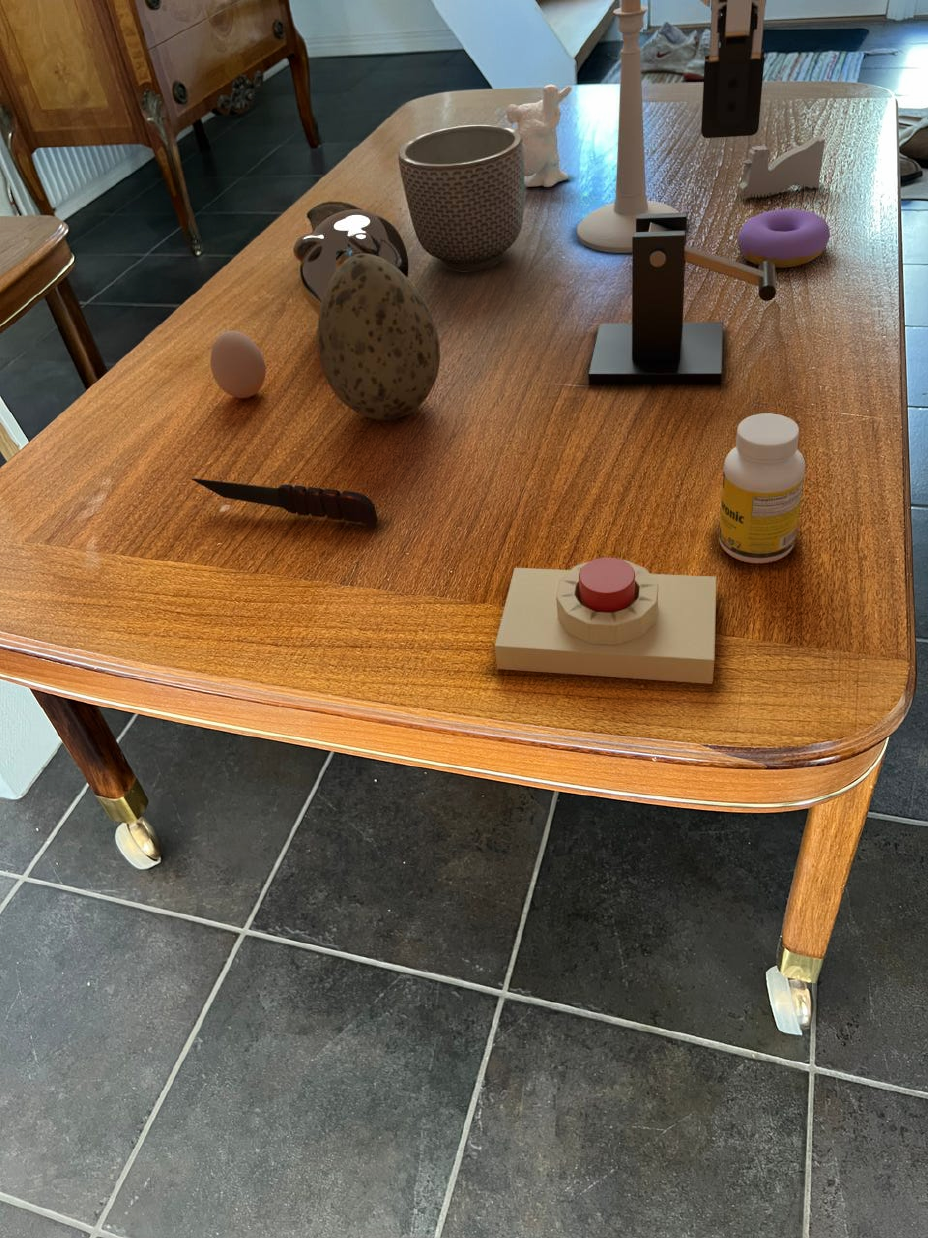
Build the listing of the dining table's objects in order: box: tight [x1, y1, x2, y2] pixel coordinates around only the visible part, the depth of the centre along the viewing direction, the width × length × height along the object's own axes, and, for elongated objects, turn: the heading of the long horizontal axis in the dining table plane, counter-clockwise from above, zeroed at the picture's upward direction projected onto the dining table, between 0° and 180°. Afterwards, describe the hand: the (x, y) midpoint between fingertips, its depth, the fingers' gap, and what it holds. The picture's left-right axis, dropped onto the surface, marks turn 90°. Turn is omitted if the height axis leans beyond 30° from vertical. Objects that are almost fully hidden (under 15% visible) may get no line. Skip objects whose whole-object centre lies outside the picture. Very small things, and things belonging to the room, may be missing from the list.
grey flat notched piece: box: [738, 136, 826, 198], centre depth 115 cm, size 6×1×10 cm
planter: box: [398, 123, 525, 273], centre depth 109 cm, size 14×14×13 cm
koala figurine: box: [506, 83, 573, 188], centre depth 125 cm, size 8×7×12 cm
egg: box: [210, 330, 267, 399], centre depth 93 cm, size 5×5×7 cm
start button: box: [579, 556, 635, 613], centre depth 62 cm, size 4×4×2 cm
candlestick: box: [576, 0, 680, 254], centre depth 104 cm, size 13×13×30 cm
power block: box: [494, 559, 718, 685], centre depth 64 cm, size 14×8×4 cm, turn 78°
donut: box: [736, 208, 831, 269], centre depth 104 cm, size 10×9×5 cm
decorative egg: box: [317, 253, 441, 421], centre depth 85 cm, size 11×11×15 cm
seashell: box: [306, 201, 363, 231], centre depth 116 cm, size 16×9×7 cm, turn 176°
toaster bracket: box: [588, 212, 724, 386], centre depth 87 cm, size 12×10×13 cm
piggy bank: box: [292, 208, 409, 316], centre depth 100 cm, size 11×15×12 cm
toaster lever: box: [647, 223, 777, 302], centre depth 84 cm, size 12×5×2 cm, turn 78°
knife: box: [191, 478, 379, 529], centre depth 79 cm, size 17×1×3 cm, turn 71°
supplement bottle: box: [718, 412, 806, 564], centre depth 67 cm, size 5×5×10 cm
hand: (729, 131), depth 56 cm, fingers closed
